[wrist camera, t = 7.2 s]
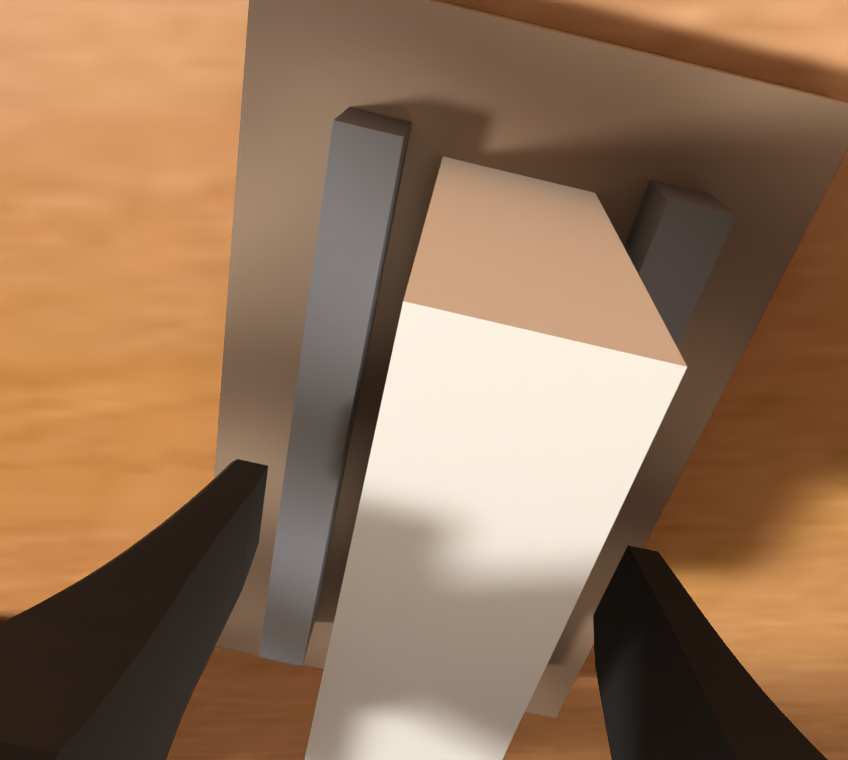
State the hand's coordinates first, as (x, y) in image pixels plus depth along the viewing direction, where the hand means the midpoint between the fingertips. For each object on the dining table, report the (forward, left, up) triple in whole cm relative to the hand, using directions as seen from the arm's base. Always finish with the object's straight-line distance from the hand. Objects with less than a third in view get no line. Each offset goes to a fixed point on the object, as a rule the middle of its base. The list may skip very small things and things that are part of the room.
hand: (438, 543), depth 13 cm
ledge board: (0, 0, -5) cm, 5 cm away
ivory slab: (+1, 0, -3) cm, 3 cm away
